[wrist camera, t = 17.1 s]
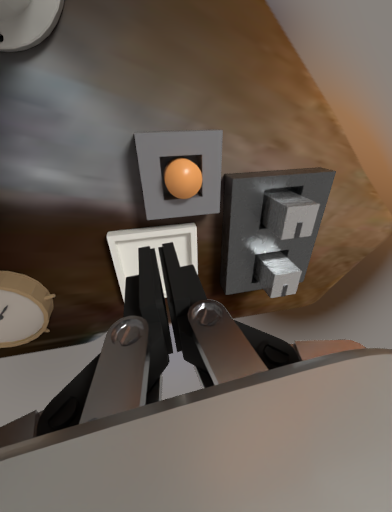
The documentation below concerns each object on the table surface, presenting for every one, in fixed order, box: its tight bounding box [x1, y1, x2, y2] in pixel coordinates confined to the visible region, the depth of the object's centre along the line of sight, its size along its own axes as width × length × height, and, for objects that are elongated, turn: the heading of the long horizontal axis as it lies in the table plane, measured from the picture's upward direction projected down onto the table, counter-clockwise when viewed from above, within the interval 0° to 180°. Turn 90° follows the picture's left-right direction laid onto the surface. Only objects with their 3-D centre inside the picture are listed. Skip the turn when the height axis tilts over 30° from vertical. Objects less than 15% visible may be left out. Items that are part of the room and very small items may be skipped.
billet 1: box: [260, 189, 320, 240], centre depth 28 cm, size 4×4×7 cm
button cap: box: [163, 157, 202, 199], centre depth 24 cm, size 4×4×2 cm
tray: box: [107, 222, 198, 300], centre depth 32 cm, size 12×12×2 cm
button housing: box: [134, 130, 223, 220], centre depth 25 cm, size 9×9×3 cm
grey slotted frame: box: [220, 167, 336, 295], centre depth 33 cm, size 18×14×3 cm
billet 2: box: [253, 251, 302, 298], centre depth 33 cm, size 4×4×7 cm
